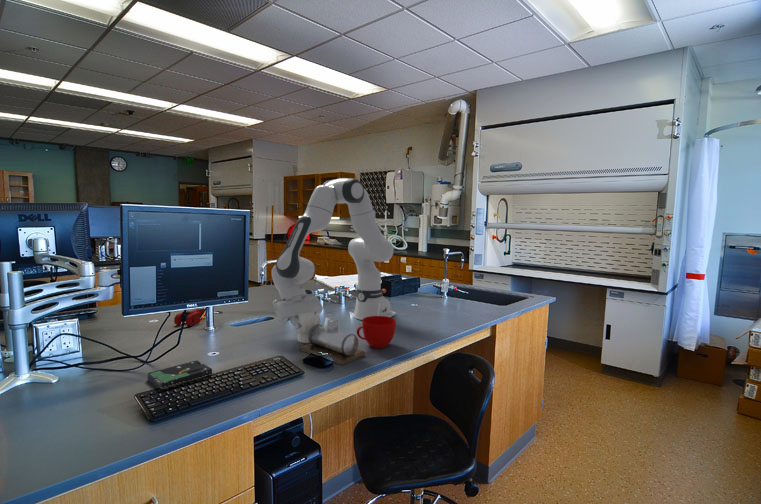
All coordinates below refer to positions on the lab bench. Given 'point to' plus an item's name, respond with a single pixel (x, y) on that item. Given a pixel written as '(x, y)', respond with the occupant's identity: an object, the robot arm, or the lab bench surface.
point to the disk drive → (178, 374)
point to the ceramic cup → (378, 330)
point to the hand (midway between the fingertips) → (307, 326)
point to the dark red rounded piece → (190, 317)
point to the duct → (333, 343)
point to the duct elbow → (306, 324)
